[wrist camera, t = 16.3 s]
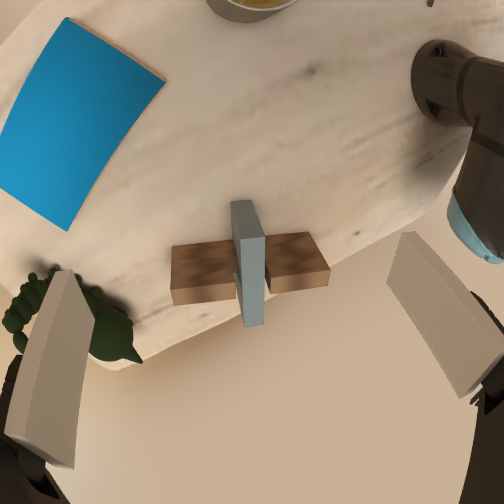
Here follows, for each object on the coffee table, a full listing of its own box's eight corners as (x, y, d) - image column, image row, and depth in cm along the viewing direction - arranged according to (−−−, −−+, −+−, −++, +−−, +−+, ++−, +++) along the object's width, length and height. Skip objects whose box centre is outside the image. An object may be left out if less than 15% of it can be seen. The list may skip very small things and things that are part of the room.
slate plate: (230, 201, 45) (240, 239, 37) (250, 199, 45) (265, 236, 37) (235, 284, 54) (244, 327, 46) (252, 282, 55) (263, 324, 47)
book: (166, 81, 30) (68, 234, 38) (169, 79, 34) (76, 219, 42) (60, 14, 22) (-18, 178, 30) (72, 18, 25) (-5, 167, 33)
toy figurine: (33, 273, 47) (136, 341, 58) (-10, 346, 31) (122, 421, 42) (50, 240, 44) (161, 317, 55) (-2, 316, 28) (150, 404, 39)
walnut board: (308, 231, 50) (330, 269, 42) (306, 246, 52) (327, 285, 44) (172, 246, 47) (170, 289, 39) (175, 261, 49) (174, 305, 41)
